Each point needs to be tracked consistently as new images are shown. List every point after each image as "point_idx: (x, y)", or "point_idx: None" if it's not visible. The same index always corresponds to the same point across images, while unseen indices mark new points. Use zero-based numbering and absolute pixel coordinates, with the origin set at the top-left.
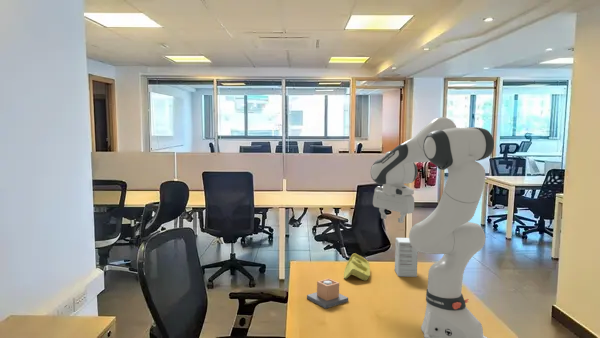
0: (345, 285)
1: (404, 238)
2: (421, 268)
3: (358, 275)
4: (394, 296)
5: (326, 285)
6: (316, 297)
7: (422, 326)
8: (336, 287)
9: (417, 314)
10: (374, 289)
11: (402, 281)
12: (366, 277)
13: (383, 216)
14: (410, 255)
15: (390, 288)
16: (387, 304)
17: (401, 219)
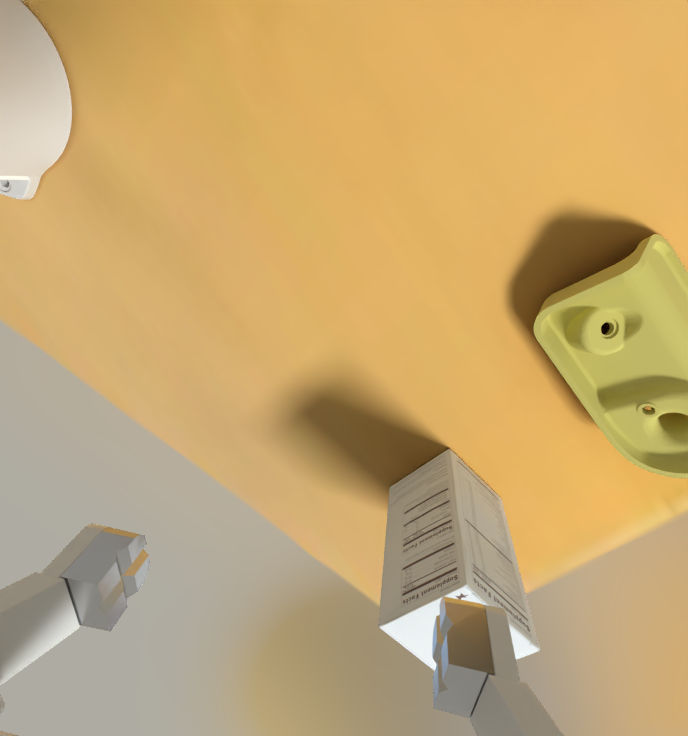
0: (600, 161)
1: None
2: None
3: (583, 281)
4: (326, 243)
5: None
6: None
7: (19, 11)
8: None
9: (149, 150)
10: (441, 242)
11: (403, 413)
12: (540, 309)
13: (452, 632)
14: (408, 546)
15: (394, 310)
16: (288, 132)
17: (56, 572)
